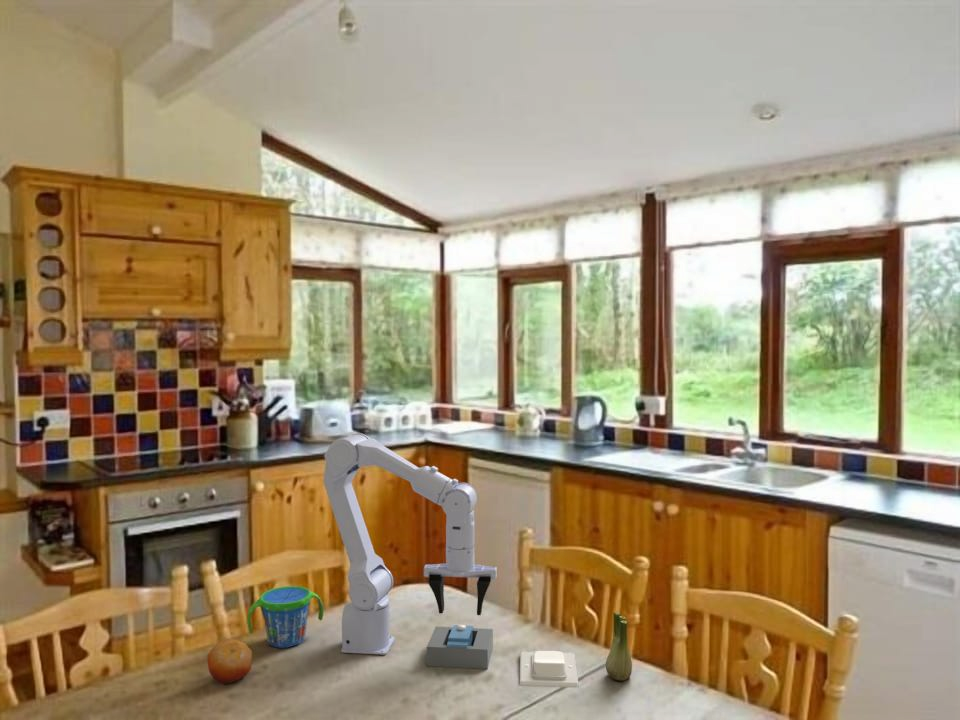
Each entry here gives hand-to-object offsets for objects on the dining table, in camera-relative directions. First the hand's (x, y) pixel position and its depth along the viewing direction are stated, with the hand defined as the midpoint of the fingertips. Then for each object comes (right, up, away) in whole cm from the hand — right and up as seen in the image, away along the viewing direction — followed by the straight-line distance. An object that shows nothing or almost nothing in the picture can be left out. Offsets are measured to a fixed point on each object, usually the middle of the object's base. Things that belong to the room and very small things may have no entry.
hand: (460, 612), depth 149 cm
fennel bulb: (+30, -9, -9) cm, 33 cm away
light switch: (+17, -10, -6) cm, 21 cm away
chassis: (0, -9, 0) cm, 9 cm away
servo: (0, -9, 0) cm, 9 cm away
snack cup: (-37, -9, +8) cm, 39 cm away
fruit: (-43, -10, -9) cm, 45 cm away
